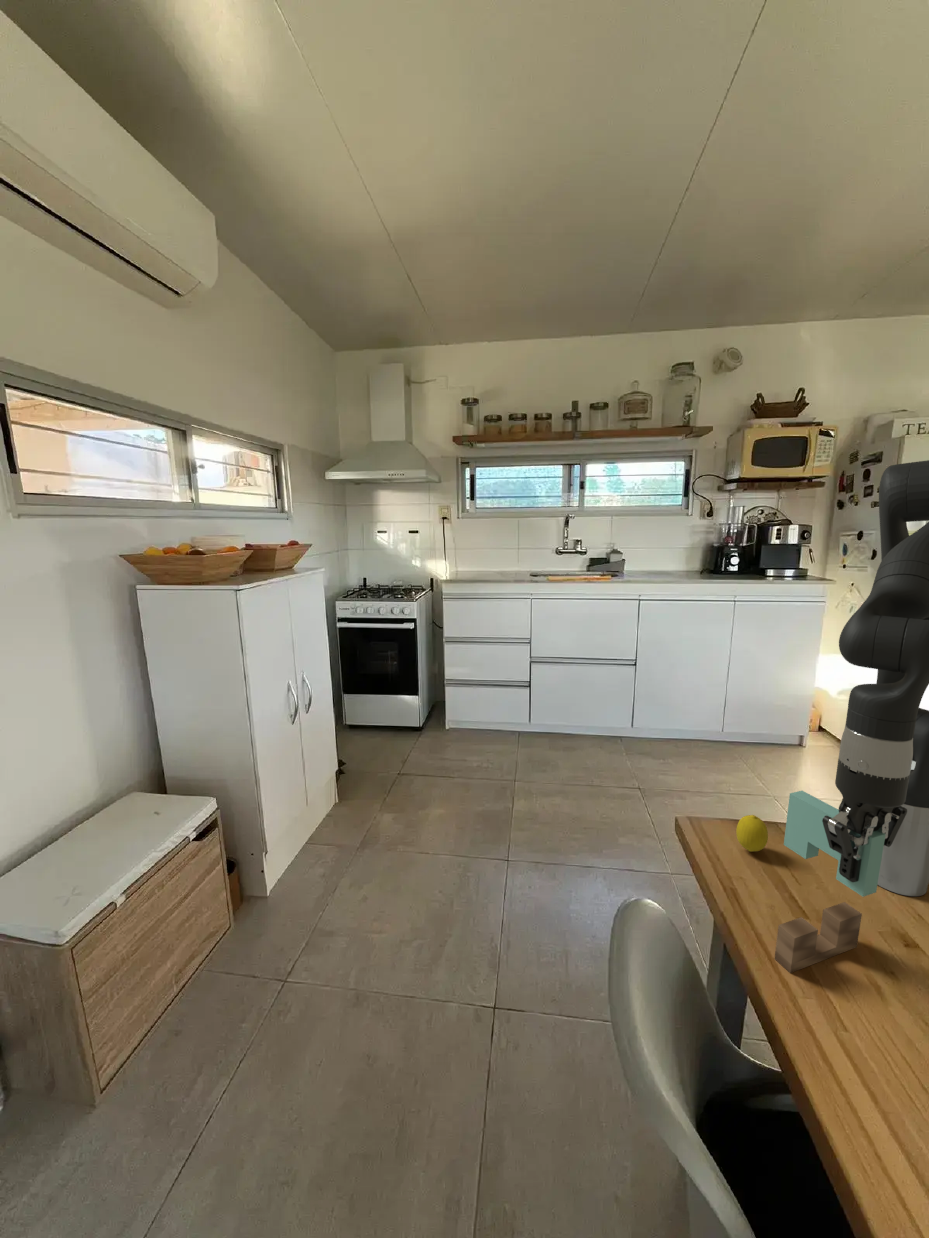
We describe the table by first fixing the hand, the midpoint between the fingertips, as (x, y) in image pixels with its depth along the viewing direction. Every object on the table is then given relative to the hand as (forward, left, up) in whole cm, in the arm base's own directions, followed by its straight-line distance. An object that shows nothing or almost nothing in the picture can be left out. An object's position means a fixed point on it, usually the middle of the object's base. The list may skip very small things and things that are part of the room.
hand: (856, 875), depth 71 cm
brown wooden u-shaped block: (0, -4, -16) cm, 17 cm away
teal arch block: (0, -4, -2) cm, 4 cm away
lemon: (-11, -26, -17) cm, 33 cm away
